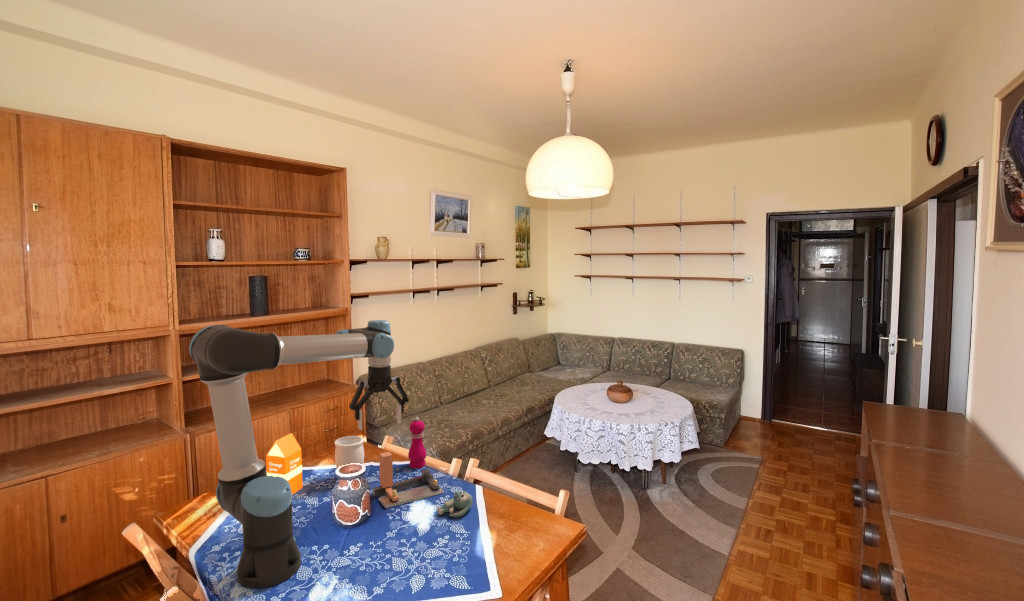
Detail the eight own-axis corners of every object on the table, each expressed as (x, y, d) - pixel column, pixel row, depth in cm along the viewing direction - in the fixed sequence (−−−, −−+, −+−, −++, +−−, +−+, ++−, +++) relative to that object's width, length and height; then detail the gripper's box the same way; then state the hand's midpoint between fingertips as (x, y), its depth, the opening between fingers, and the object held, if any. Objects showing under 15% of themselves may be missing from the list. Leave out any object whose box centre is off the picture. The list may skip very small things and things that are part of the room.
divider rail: (443, 490, 173) (443, 478, 173) (382, 507, 161) (382, 494, 161) (431, 479, 182) (431, 468, 182) (372, 494, 170) (372, 482, 170)
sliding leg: (401, 499, 164) (400, 463, 163) (390, 501, 162) (390, 465, 161) (389, 485, 174) (389, 451, 173) (380, 488, 172) (379, 453, 171)
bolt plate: (443, 493, 172) (443, 490, 172) (385, 509, 160) (385, 506, 160) (435, 485, 178) (435, 482, 177) (378, 500, 166) (378, 497, 166)
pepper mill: (430, 465, 195) (429, 416, 193) (415, 471, 190) (414, 421, 188) (419, 460, 200) (418, 412, 198) (404, 465, 195) (404, 417, 193)
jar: (370, 477, 184) (369, 438, 183) (348, 488, 175) (347, 447, 174) (352, 470, 190) (351, 433, 189) (329, 480, 181) (328, 441, 180)
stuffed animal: (430, 492, 161) (463, 479, 166) (434, 512, 162) (467, 498, 167) (440, 507, 151) (475, 492, 156) (445, 528, 152) (479, 512, 157)
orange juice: (267, 496, 169) (265, 440, 167) (284, 485, 178) (282, 431, 176) (286, 498, 167) (284, 442, 166) (303, 487, 176) (301, 433, 174)
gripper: (410, 359, 177) (410, 417, 178) (339, 366, 163) (340, 428, 165) (417, 363, 171) (418, 422, 172) (344, 370, 157) (345, 434, 159)
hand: (379, 425), depth 168 cm, fingers open, 13 cm apart
